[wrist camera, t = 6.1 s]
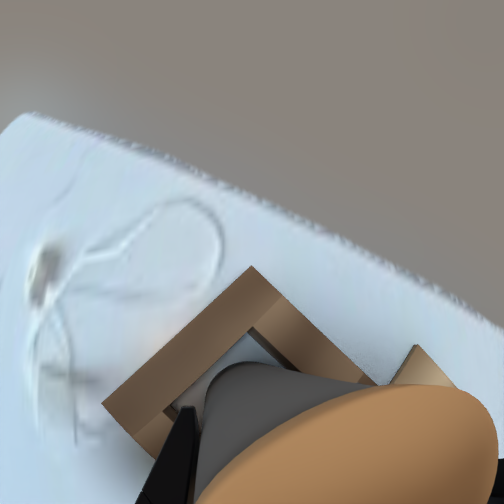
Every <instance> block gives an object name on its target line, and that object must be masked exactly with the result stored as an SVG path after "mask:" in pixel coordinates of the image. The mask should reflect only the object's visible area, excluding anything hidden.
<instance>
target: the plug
mask: <svg viewBox="0 0 504 504" xmlns="http://www.w3.org/2000/svg"><path fill="white" fill-rule="evenodd" d="M497 465H498V439H497V433H496V429H495V426H494V423H493V420H492V418H491V416H490V414H489V413H488V411H487V409H486V408H485V407H484V406H483V404H482V403H481V402H480V401H479V400H478V399H476V398H475V397H473V396H472V395H470V394H469V393H467V392H465V391H462V390H459V389H457V388H453V387H446V386H440V385H421V384H389V385H382V386H371V385H364V384H358V383H352V382H346V381H340V380H335V379H330V378H324V377H319V376H315V375H310V374H305V373H300V372H296V371H292V370H287V369H283V368H279V367H275V366H271V365H267V364H263V363H259V362H240V363H236V364H233V365H230V366H228V367H226V368H225V369H223V370H222V371H221V372H219V373H218V374H217V375H216V376H215V377H214V379H213V380H212V381H211V383H210V385H209V387H208V389H207V392H206V397H205V405H204V413H203V421H202V429H201V438H200V446H199V455H198V464H197V474H196V483H195V493H194V504H487V502H488V499H489V497H490V494H491V491H492V488H493V485H494V481H495V476H496V472H497Z"/></svg>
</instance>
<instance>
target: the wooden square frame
mask: <svg viewBox="0 0 504 504" xmlns="http://www.w3.org/2000/svg"><path fill="white" fill-rule="evenodd" d="M246 332H248V333H249V334H250V335H251V336H252V337H253V338H254V339H255V340H256V341H257V342H258V343H259V344H260V345H261V346H262V347H263V348H264V349H265V350H266V351H267V352H268V353H269V354H271V355H272V356H273V357H274V358H275V359H276V360H277V361H278V362H279V363H280V364H281V365H282V366H283V367H285V368H286V369H287V370H292V371H296V372H300V373H305V374H310V375H315V376H319V377H324V378H330V379H335V380H340V381H346V382H352V383H361V384H364V385H371V386H378V385H377V384H376V383H375V382H373V381H372V380H371V379H370V378H369V377H368V376H367V375H366V374H365V373H364V372H363V371H362V370H361V369H360V368H359V367H358V366H356V365H355V364H354V363H353V362H352V361H351V360H350V359H349V358H348V357H347V356H346V355H345V354H344V353H343V352H342V351H341V350H340V349H338V348H337V347H336V346H335V345H334V344H333V343H332V342H331V341H330V340H329V339H328V338H327V337H326V336H325V335H324V334H323V333H322V332H321V331H319V330H318V329H317V328H316V327H315V326H314V325H313V324H312V323H311V322H310V321H309V320H308V319H307V318H306V317H305V316H304V315H303V314H302V313H301V312H300V311H299V310H297V309H296V308H295V307H294V306H293V305H292V304H291V303H290V302H289V301H288V300H287V299H286V298H285V297H284V296H283V295H282V294H281V293H280V292H279V291H278V290H277V289H276V288H275V287H273V286H272V285H271V284H270V283H269V282H268V281H267V280H266V279H265V278H264V277H263V276H262V275H261V274H260V273H259V272H258V271H257V270H256V269H255V268H254V267H253V266H252V265H251V266H250V267H249V268H248V269H247V270H246V271H245V272H244V273H243V274H242V275H241V276H240V277H238V278H237V279H236V280H235V281H234V282H233V283H232V284H231V285H230V286H229V287H228V288H227V289H226V290H224V291H223V292H222V293H221V294H220V295H219V296H218V297H217V298H216V299H215V300H214V301H213V302H212V303H210V304H209V305H208V306H207V307H206V308H205V309H204V310H203V311H202V312H201V313H200V314H199V315H197V316H196V317H195V318H194V319H193V320H192V321H191V322H190V323H189V324H188V325H187V326H186V327H184V328H183V329H182V330H181V331H180V332H179V333H178V334H177V335H176V336H175V337H174V338H172V339H171V340H170V341H169V342H168V343H167V344H166V345H165V346H164V347H163V348H162V349H160V350H159V351H158V352H157V353H156V354H155V355H154V356H153V357H152V358H151V359H150V360H148V361H147V362H146V363H145V364H144V365H143V366H142V367H141V368H140V369H139V370H137V371H136V372H135V373H134V374H133V375H132V376H131V377H130V378H129V379H128V380H126V381H125V382H124V383H123V384H122V385H121V386H120V387H119V388H118V389H116V390H115V391H114V392H113V393H112V394H111V395H110V396H109V397H108V398H107V399H105V400H104V401H103V402H102V403H101V404H102V405H103V406H104V407H105V408H106V410H107V411H108V412H109V413H110V414H111V415H112V416H113V418H114V419H115V420H116V421H117V422H118V423H119V424H120V425H121V426H122V427H123V428H124V430H125V431H126V432H127V433H128V434H129V435H130V436H131V437H132V438H133V439H134V440H135V441H136V442H137V443H138V444H139V445H140V446H141V447H142V448H143V449H144V450H145V451H146V452H147V453H149V454H150V455H151V456H152V457H153V458H154V459H155V460H156V459H157V457H158V455H159V453H160V451H161V448H162V446H163V444H164V442H165V440H166V438H167V436H168V434H169V432H170V430H171V428H172V426H173V423H174V421H175V419H176V417H177V415H178V413H177V412H176V411H175V410H174V409H173V408H172V407H171V406H170V404H171V403H172V402H173V401H174V400H175V399H176V398H177V397H178V396H180V395H181V394H182V393H183V392H184V391H185V390H186V389H187V388H188V387H189V386H191V385H192V384H193V383H194V382H195V381H196V380H197V379H198V378H199V377H200V376H201V375H202V374H203V373H205V372H206V371H207V370H208V369H209V368H210V367H211V366H212V365H213V364H214V363H215V362H216V361H217V360H218V359H219V358H220V357H221V356H222V355H223V354H225V353H226V352H227V351H228V350H229V349H230V348H231V347H232V346H233V345H234V344H235V343H236V342H237V341H238V340H239V339H240V338H241V337H242V336H243V335H244V334H245V333H246ZM199 437H200V438H201V435H200V434H199Z"/></svg>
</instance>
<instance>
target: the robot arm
mask: <svg viewBox="0 0 504 504" xmlns="http://www.w3.org/2000/svg"><path fill="white" fill-rule="evenodd" d="M358 384H361V383H358ZM199 446H200V437H199V427H198V420H197V415H196V410H195V407H194V406H183V407H181V409H180V411H179V413H178V415H177V417H176V419H175V421H174V423H173V426H172V428H171V430H170V432H169V434H168V436H167V438H166V440H165V442H164V444H163V446H162V448H161V451H160V453H159V455H158V457H157V459H156V461H155V463H154V465H153V467H152V469H151V471H150V473H149V476H148V478H147V480H146V482H145V484H144V486H143V488H142V491H143V492H142V491H141V492H140V494H139V496H138V498H137V500H136V502H135V504H194V493H195V483H196V474H197V464H198V455H199ZM487 504H504V458H503V459H498V465H497V472H496V476H495V481H494V485H493V488H492V491H491V494H490V497H489V499H488V502H487Z"/></svg>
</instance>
